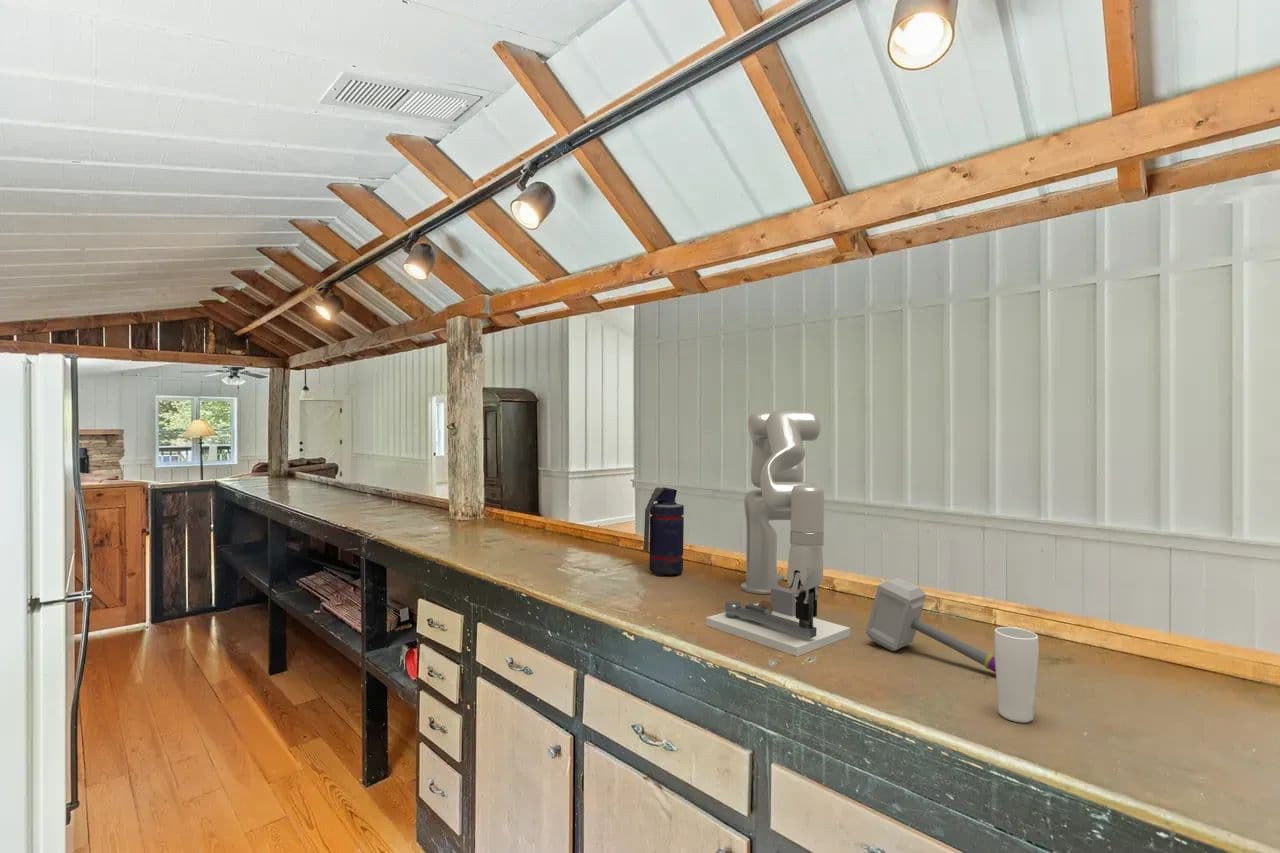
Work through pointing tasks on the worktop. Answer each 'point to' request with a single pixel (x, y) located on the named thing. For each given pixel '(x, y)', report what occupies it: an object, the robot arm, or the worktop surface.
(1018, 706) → the drinking glass
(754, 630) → the base
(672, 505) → the grenade
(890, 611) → the hammer
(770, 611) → the walnut
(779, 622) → the lever
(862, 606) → the worktop surface
